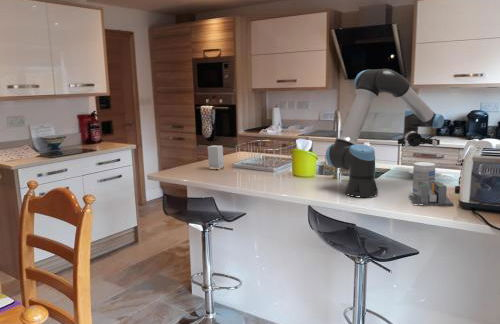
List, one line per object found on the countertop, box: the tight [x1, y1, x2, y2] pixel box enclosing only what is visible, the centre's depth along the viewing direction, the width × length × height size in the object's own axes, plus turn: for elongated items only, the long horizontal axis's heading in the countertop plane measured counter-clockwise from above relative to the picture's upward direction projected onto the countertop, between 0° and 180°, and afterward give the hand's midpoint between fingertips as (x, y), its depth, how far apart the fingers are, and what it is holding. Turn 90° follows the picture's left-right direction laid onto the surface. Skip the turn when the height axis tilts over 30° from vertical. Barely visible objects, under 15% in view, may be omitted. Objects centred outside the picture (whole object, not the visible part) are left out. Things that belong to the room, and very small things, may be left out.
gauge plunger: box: [417, 181, 440, 202], centre depth 178 cm, size 10×9×8 cm
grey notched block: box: [408, 182, 454, 207], centre depth 178 cm, size 12×16×8 cm
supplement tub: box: [412, 161, 436, 195], centre depth 190 cm, size 10×10×15 cm
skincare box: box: [207, 144, 225, 168], centre depth 265 cm, size 8×7×16 cm
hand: (421, 144), depth 199 cm, fingers open, 13 cm apart
